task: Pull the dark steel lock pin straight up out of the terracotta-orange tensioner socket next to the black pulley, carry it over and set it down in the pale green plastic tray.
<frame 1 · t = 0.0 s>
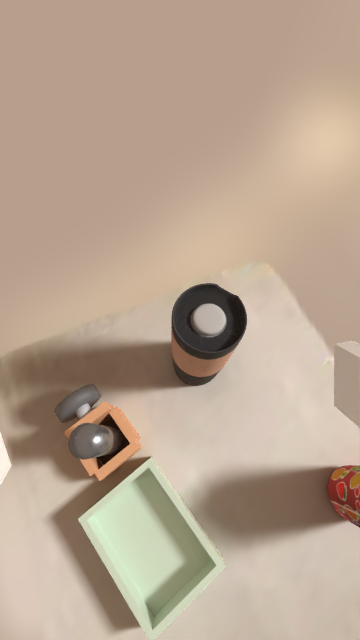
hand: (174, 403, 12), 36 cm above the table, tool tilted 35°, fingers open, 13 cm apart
tray: (152, 533, 41), on the table
smoothie: (347, 491, 43), on the table
travel mug: (195, 363, 49), on the table
lock pin: (109, 440, 45), resting in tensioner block
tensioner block: (109, 440, 45), on the table
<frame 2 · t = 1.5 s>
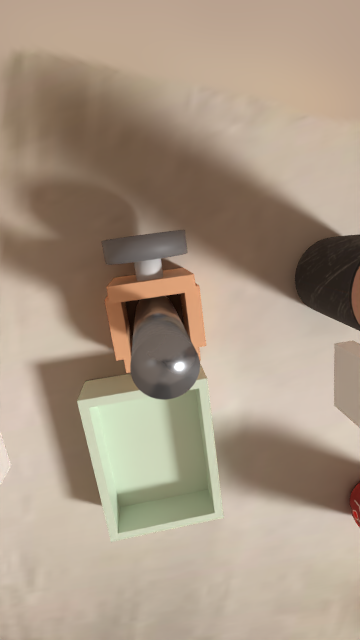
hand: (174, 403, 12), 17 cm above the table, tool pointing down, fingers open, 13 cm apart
tray: (154, 438, 32), on the table
travel mug: (328, 275, 30), on the table
lock pin: (155, 312, 28), resting in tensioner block
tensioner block: (155, 312, 28), on the table
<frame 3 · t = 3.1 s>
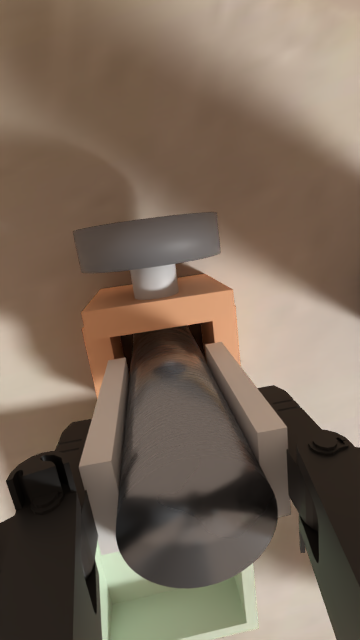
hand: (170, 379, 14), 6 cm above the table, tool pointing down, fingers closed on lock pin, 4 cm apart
tray: (160, 511, 23), on the table
lock pin: (162, 339, 19), resting in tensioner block, touching gripper
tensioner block: (162, 340, 19), on the table
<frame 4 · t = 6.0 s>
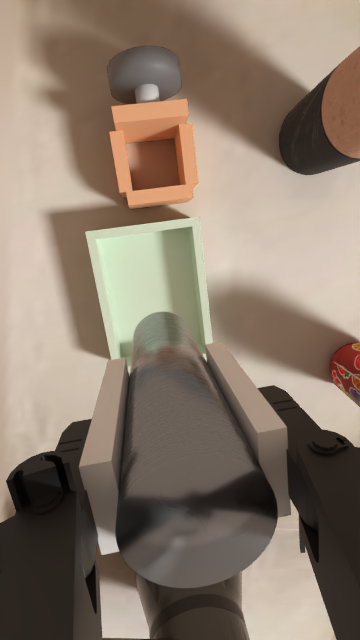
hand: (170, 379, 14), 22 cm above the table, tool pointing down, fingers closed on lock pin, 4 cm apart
tray: (153, 293, 35), on the table
smoothie: (348, 363, 41), on the table
travel mug: (309, 139, 33), on the table
lock pin: (162, 339, 19), point 17 cm above the table, touching gripper
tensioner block: (153, 167, 32), on the table
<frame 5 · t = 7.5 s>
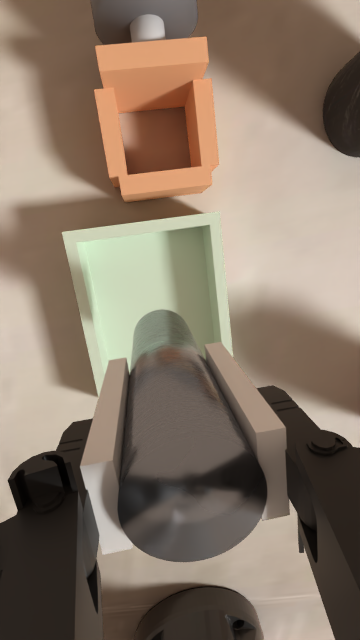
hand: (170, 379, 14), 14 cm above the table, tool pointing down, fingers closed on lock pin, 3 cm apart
tray: (156, 313, 27), on the table
lock pin: (161, 336, 20), point 7 cm above the table, touching gripper
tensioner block: (156, 146, 24), on the table
when the fingers open (8 cm above the table, at t = 8.8 s): lock pin stays where it is, resting on tray.
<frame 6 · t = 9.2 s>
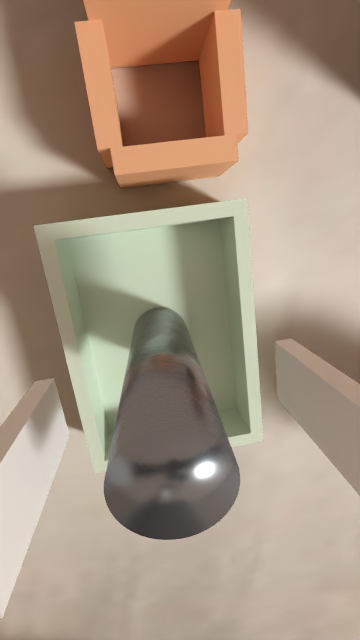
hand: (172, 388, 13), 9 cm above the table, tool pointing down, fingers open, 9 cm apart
tray: (160, 329, 21), on the table
lock pin: (160, 333, 21), point 1 cm above the table, touching tray
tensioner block: (161, 114, 18), on the table
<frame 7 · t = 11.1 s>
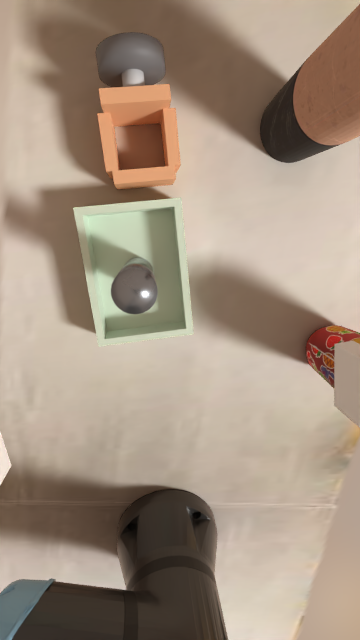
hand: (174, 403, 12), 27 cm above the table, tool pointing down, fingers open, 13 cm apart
tray: (138, 271, 37), on the table
smoothie: (323, 345, 43), on the table
travel mug: (289, 129, 35), on the table
lock pin: (138, 272, 37), point 1 cm above the table, touching tray
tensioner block: (140, 150, 34), on the table
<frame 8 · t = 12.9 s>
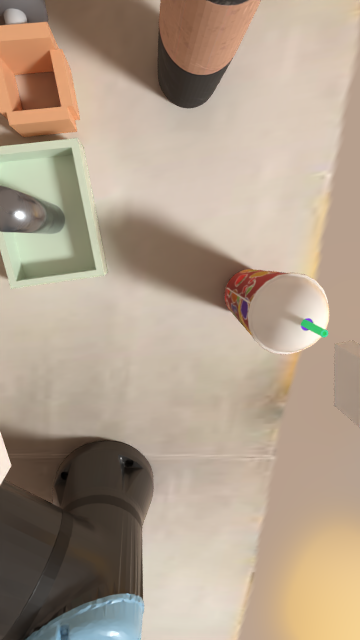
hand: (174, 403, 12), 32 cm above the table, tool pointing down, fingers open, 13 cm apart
tray: (52, 218, 39), on the table
smoothie: (244, 292, 44), on the table
travel mug: (187, 75, 37), on the table
lock pin: (49, 218, 38), point 1 cm above the table, touching tray
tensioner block: (42, 98, 35), on the table
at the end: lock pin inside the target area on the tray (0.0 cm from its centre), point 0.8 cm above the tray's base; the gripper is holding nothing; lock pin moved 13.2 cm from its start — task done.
